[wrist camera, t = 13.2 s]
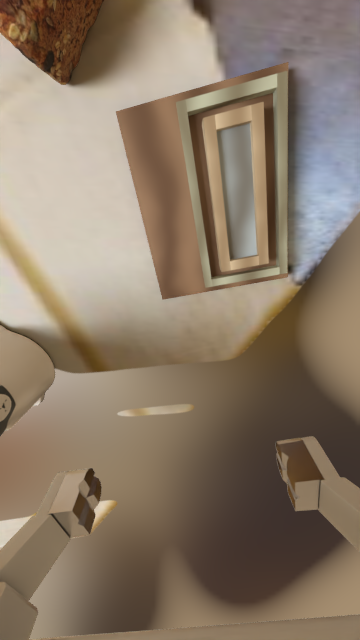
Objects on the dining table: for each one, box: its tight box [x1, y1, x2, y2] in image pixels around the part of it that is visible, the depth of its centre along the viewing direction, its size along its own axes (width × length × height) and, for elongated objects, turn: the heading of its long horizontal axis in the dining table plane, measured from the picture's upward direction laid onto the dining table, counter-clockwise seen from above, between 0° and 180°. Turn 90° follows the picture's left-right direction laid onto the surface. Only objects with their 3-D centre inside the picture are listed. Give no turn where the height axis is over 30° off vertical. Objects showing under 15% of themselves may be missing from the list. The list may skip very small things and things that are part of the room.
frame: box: [202, 102, 269, 272], centre depth 27 cm, size 6×16×2 cm, turn 11°
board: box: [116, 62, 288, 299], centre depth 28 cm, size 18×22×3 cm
